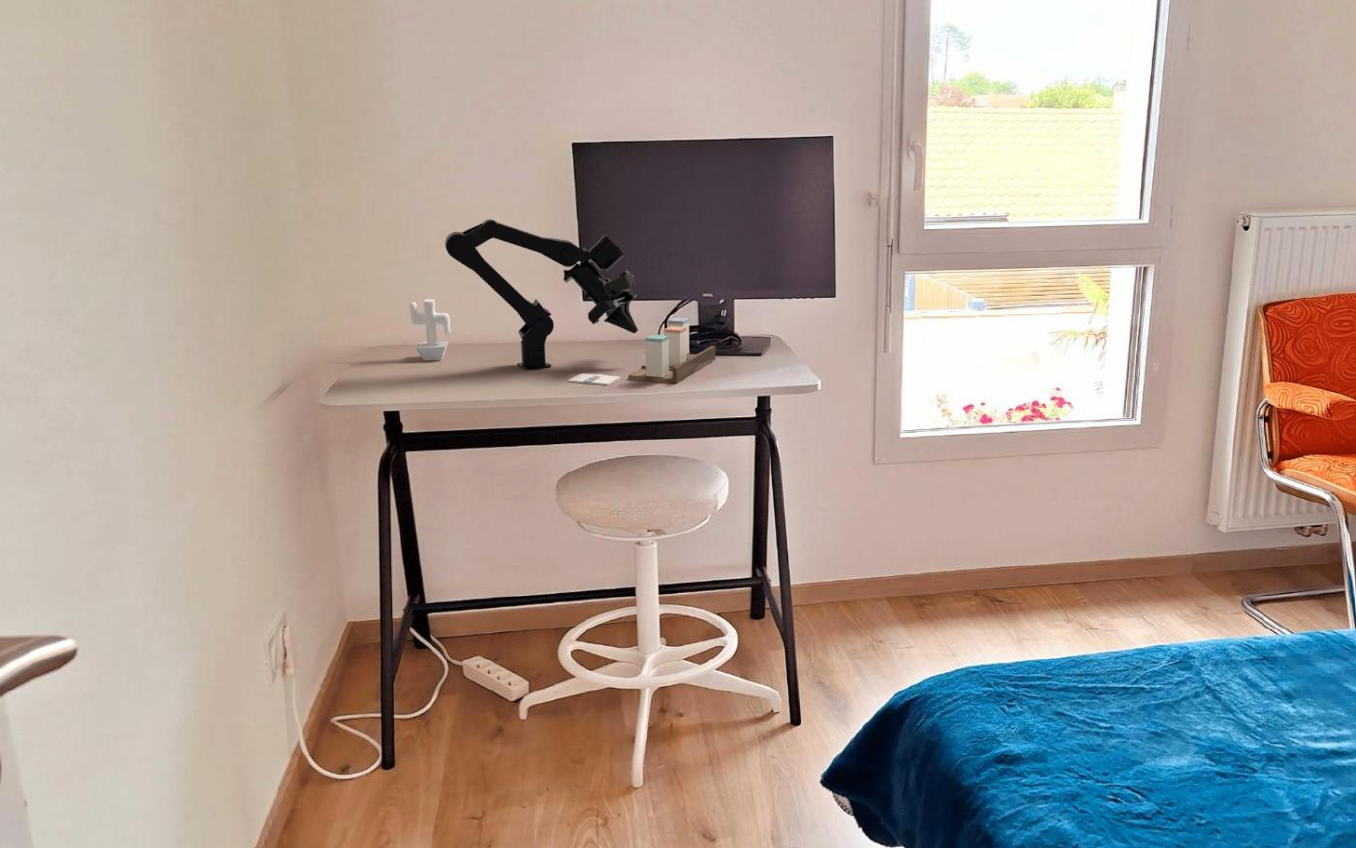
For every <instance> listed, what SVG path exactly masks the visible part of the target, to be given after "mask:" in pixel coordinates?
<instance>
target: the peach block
mask: <svg viewBox="0 0 1356 848" xmlns="http://www.w3.org/2000/svg"><path fill="white" fill-rule="evenodd" d="M663 331H664V333H663V335H664V336H669V366H675V367H676V366H677V365H679V364H681V363H683V362H684V361H686V327H674V326H670V327H668V326H667V327H666V328H664V330H663Z"/></svg>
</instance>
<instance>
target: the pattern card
mask: <svg viewBox="0 0 1356 848" xmlns="http://www.w3.org/2000/svg"><path fill="white" fill-rule="evenodd" d="M621 379H622V378H621V376H618V375H617V376H614V375H606V374H601V373H600V374H599V373H597V374H593V373H580V374H577V375H575V376H573V377H571V378H569V379H568V380H567V382H568V383H577V384H589V385H597V386H599V385H600V386H609V385H611V384H613V383H615V382H617V381H619V380H621Z"/></svg>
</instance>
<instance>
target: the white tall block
mask: <svg viewBox="0 0 1356 848" xmlns="http://www.w3.org/2000/svg"><path fill="white" fill-rule="evenodd" d="M645 366H646V376H653V377H664V376H666V375H667V374H669V336H664V334H663V335H662V334H651V335H649V336H647V337H645Z"/></svg>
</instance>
